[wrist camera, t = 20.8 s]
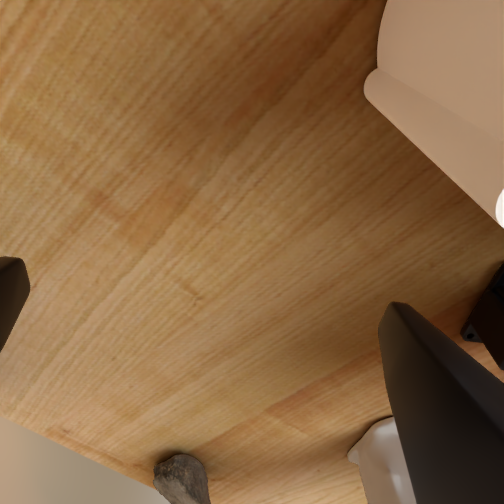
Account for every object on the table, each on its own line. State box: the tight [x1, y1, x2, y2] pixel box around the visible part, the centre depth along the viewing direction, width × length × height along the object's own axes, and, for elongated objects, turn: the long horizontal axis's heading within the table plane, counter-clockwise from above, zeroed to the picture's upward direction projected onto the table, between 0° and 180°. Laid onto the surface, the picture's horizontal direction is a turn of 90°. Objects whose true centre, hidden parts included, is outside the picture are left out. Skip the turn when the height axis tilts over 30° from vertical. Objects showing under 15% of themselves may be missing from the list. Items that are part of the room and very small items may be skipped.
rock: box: [153, 454, 211, 504], centre depth 35 cm, size 6×7×5 cm
